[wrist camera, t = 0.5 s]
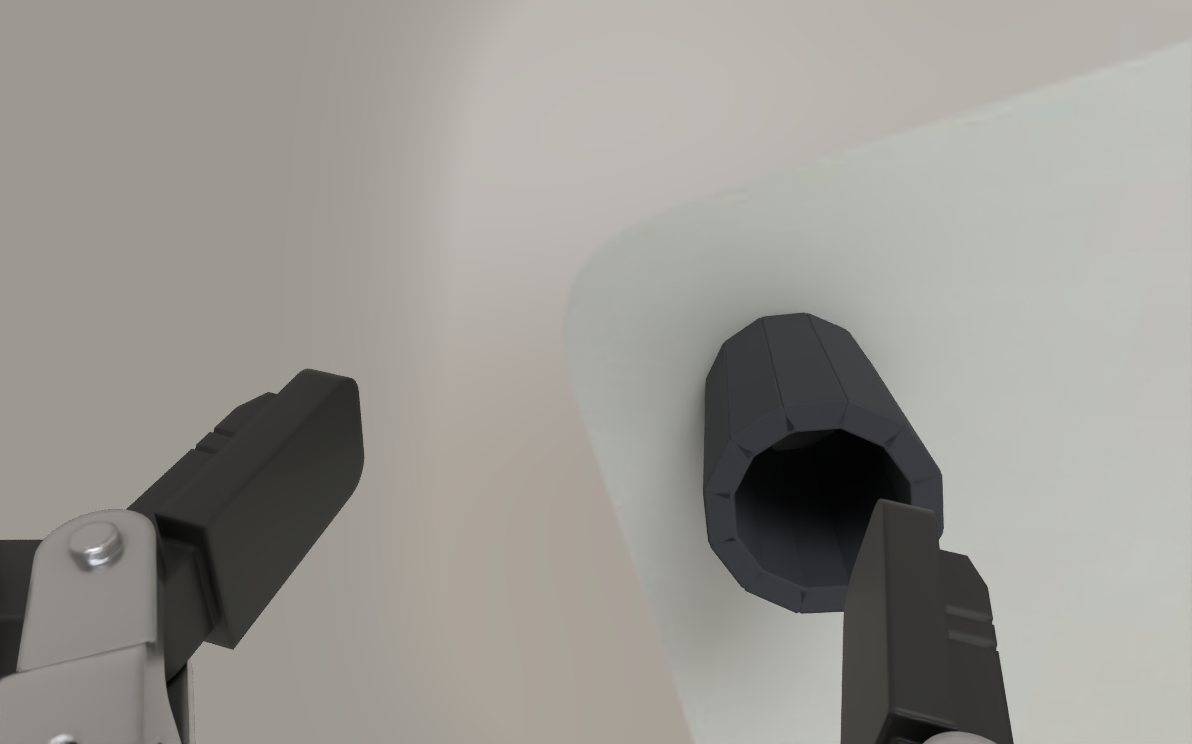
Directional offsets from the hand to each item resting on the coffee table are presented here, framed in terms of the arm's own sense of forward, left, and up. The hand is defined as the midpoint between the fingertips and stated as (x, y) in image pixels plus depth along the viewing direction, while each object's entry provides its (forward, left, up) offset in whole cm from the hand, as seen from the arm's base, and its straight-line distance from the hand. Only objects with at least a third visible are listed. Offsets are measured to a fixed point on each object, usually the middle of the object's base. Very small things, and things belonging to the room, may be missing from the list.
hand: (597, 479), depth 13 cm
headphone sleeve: (+5, +4, -19) cm, 20 cm away
